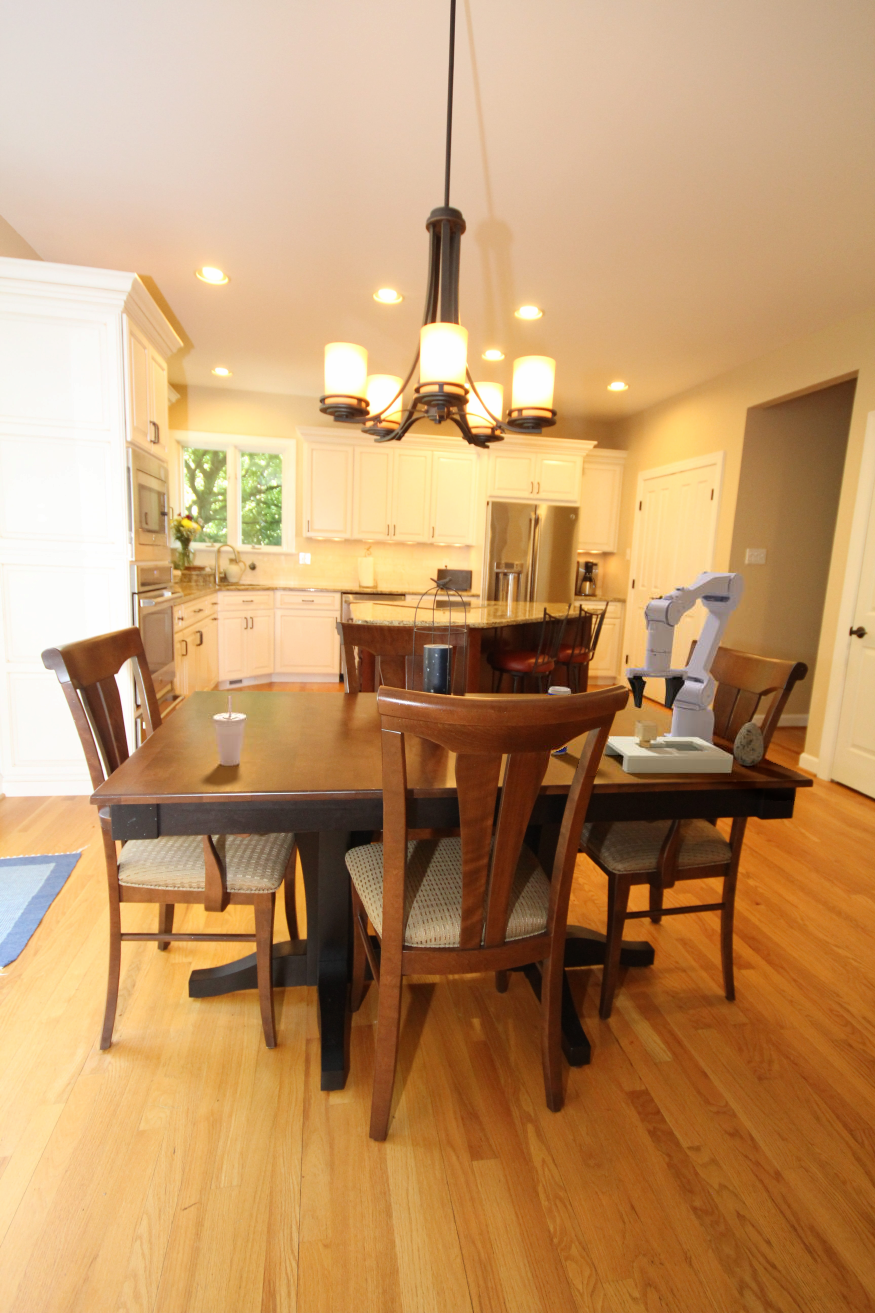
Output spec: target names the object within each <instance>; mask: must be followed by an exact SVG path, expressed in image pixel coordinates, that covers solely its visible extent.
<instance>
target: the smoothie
mask: <svg viewBox="0 0 875 1313" xmlns="http://www.w3.org/2000/svg"><path fill="white" fill-rule="evenodd" d="M232 711H233V710H232V695H228V712H223V713H218V714H216V715H213V717H212V723H213V724H214V728H215V734H216V735H215V736H216V743H217V749H218V755H219V757H218V758H219V762H220V763H219V764H220V765H222V766H225V767H229V766H230V767H231V766H237V765H239V764H240V762H241V753H242V748H243V738H244V732H245V731H244V730H245V723H247V715H246V714H244V713H240V712H232Z"/></svg>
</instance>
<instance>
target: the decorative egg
mask: <svg viewBox="0 0 875 1313" xmlns="http://www.w3.org/2000/svg"><path fill="white" fill-rule="evenodd" d="M764 747H765V746H764V739H763V734H762V732H761V729H760V727H759V726H758V725H757V724H756V723H755V722H752V721H749V722H746V723H745V724H744V725H743V726H742V727H741V728H740V730H739V731H738V733H737V735H736V737H735V740H734V743H733V756H734V757H735V759H736V761H737V762H738V763H739V764H741V765H743V766H747V767H750V766H754V765H756V764H758V763H759V762H760V761H761V759H762V757H763V754H764Z"/></svg>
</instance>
